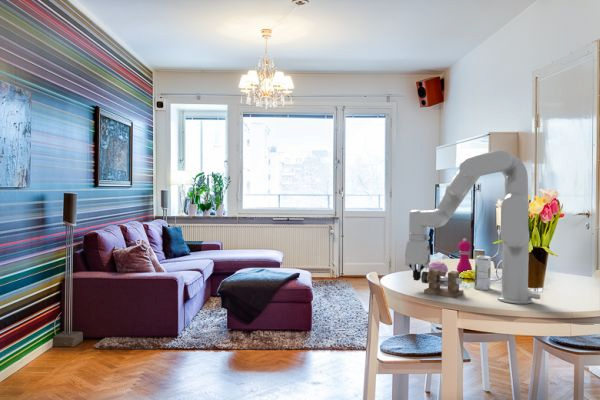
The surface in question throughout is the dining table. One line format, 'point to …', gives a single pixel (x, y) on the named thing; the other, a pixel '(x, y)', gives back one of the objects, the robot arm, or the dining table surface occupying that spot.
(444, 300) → the dining table surface
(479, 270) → the silver can
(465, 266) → the pepper mill
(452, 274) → the bracket
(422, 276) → the shaft
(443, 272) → the cupcake
